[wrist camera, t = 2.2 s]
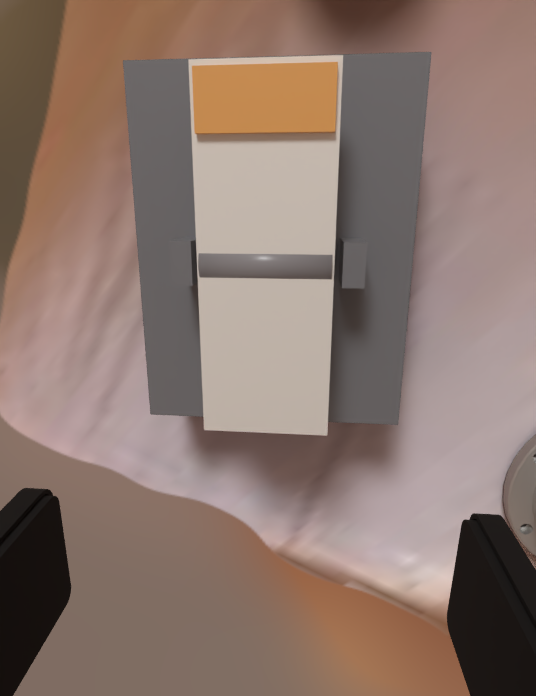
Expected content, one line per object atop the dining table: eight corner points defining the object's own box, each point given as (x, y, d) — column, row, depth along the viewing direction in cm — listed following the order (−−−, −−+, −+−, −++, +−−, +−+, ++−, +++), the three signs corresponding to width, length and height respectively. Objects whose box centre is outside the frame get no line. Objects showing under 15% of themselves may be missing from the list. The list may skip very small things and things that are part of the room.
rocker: (326, 422, 24) (327, 438, 22) (210, 417, 24) (202, 432, 23) (341, 65, 19) (343, 52, 17) (196, 69, 20) (186, 56, 18)
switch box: (382, 385, 31) (408, 452, 23) (179, 378, 33) (131, 438, 24) (405, 85, 26) (450, 26, 18) (162, 90, 28) (94, 38, 19)
